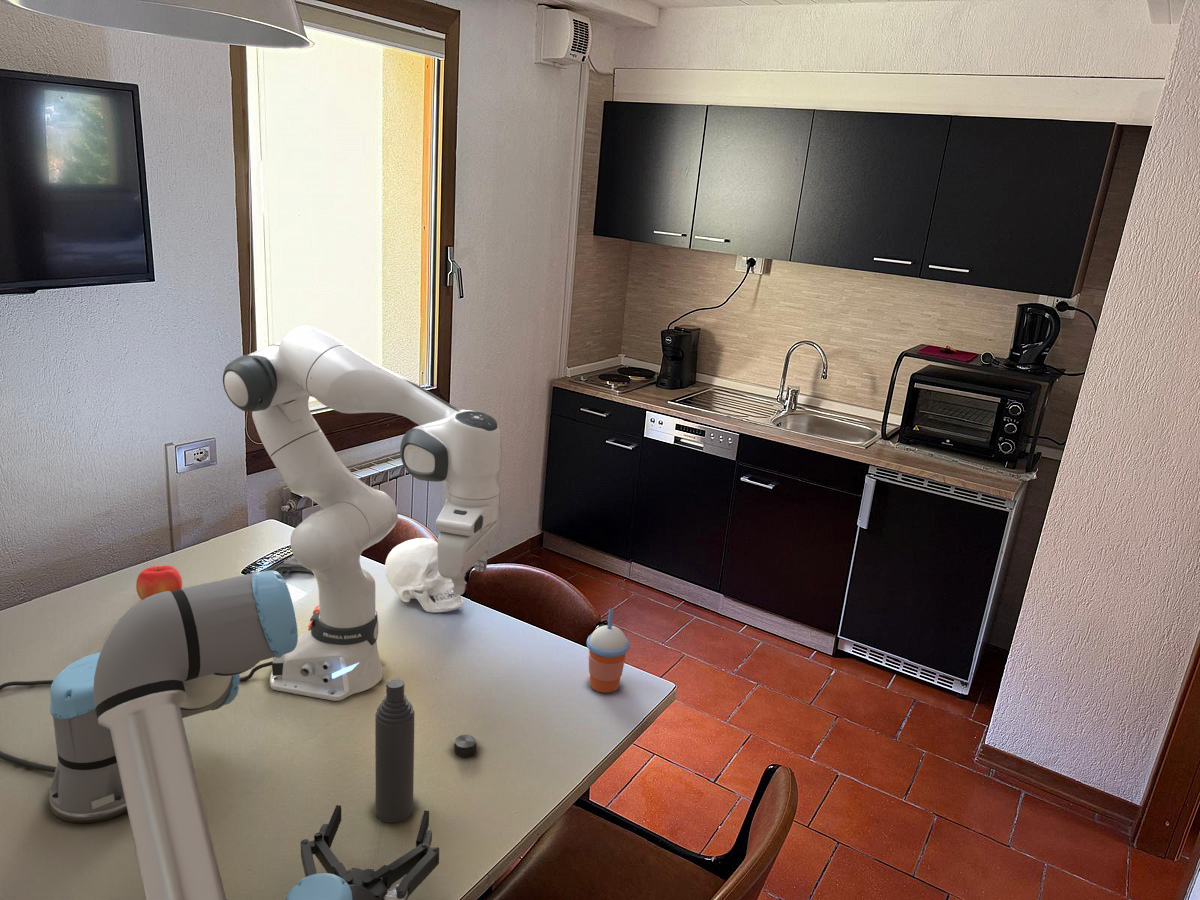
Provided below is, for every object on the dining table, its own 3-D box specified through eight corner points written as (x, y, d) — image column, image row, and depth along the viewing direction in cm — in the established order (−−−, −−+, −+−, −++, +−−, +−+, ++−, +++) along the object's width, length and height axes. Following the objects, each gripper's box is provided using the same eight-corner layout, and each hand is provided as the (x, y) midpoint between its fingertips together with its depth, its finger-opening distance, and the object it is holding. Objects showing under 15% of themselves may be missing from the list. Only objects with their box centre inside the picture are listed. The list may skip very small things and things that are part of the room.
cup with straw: (621, 700, 178) (628, 623, 173) (578, 692, 180) (585, 616, 174) (628, 677, 187) (636, 603, 181) (588, 670, 188) (594, 596, 183)
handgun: (292, 594, 211) (247, 586, 213) (325, 565, 228) (283, 558, 229) (291, 586, 211) (246, 578, 212) (325, 557, 227) (283, 550, 229)
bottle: (414, 819, 141) (416, 692, 134) (376, 825, 139) (376, 696, 132) (411, 794, 147) (413, 671, 140) (374, 799, 145) (374, 674, 138)
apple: (187, 610, 199) (184, 571, 196) (141, 619, 194) (137, 579, 191) (180, 593, 207) (177, 555, 204) (135, 601, 202) (132, 562, 199)
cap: (480, 748, 160) (480, 738, 160) (468, 760, 157) (469, 750, 156) (461, 741, 162) (462, 732, 161) (450, 753, 158) (450, 743, 157)
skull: (448, 622, 203) (451, 561, 199) (372, 599, 211) (374, 540, 207) (477, 602, 215) (480, 543, 211) (405, 581, 223) (406, 524, 219)
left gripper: (250, 945, 114) (302, 830, 134) (438, 955, 114) (462, 839, 135) (248, 900, 111) (301, 790, 132) (440, 911, 112) (463, 799, 132)
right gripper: (478, 485, 155) (475, 554, 159) (431, 524, 136) (429, 602, 140) (511, 490, 154) (507, 560, 158) (468, 531, 135) (465, 609, 139)
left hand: (382, 814), depth 133 cm, fingers open, 13 cm apart
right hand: (470, 580), depth 149 cm, fingers open, 8 cm apart
